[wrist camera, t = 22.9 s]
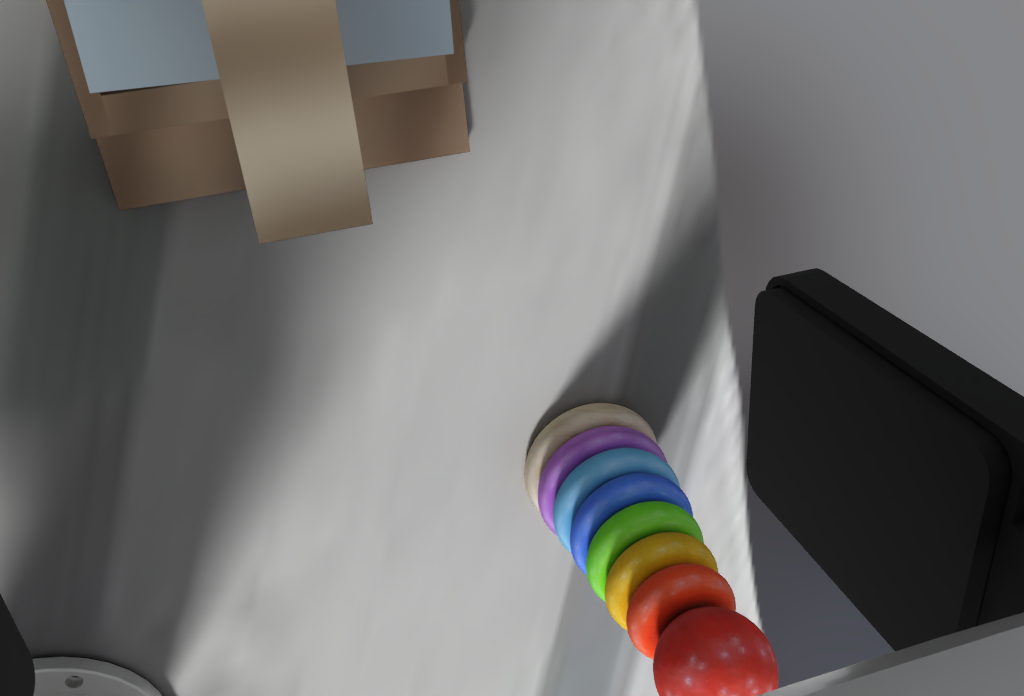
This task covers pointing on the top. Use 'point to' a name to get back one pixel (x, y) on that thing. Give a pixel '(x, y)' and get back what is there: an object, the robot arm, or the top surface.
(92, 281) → the top surface
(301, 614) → the top surface
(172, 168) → the cradle jig
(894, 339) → the robot arm
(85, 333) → the top surface
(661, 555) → the stacking toy
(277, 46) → the beige rectangular block
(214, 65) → the light blue rectangular block
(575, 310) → the top surface
